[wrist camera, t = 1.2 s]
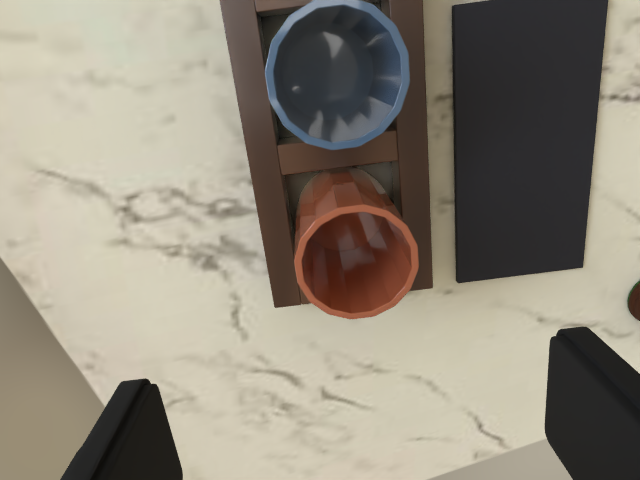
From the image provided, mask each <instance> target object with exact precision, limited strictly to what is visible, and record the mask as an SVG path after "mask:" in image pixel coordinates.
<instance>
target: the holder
mask: <svg viewBox="0 0 640 480" xmlns="http://www.w3.org/2000/svg"><path fill="white" fill-rule="evenodd" d="M311 1H313V0H220V5H221V10H222V16H223V22H224V27H225V33H226V38H227V44H228V50H229V55H230V61H231V66H232V72H233V78H234V83H235V89H236V94H237V100H238V105H239V111H240V117H241V122H242V128H243V133H244V139H245V145H246V150H247V156H248V161H249V167H250V173H251V178H252V184H253V189H254V195H255V200H256V206H257V212H258V217H259V223H260V228H261V234H262V240H263V245H264V251H265V256H266V262H267V268H268V273H269V279H270V284H271V290H272V295H273V301H274V307H275V308H278V307H286V306H294V305H301V303H302V304H309V303H311V302H310V301H309V300H308V298H307V297H306V295H305V294H304V292H303V291H302V289H301V288H300V286H299V285H298V283H297V277H296V271H295V264H294V253H295V240H294V234H293V227H292V221H291V214H290V208H289V201H288V194H287V188H286V181H285V175H289V174H296V173H304V172H312V171H320V170H328V169H336V168H343V167H351V166H359V165H367V164H375V163H382V162H390V161H391V166H392V182H393V197H394V206H395V207H396V209H397V210H398V212H399V214H400V215H401V217H402V218H403V220H404V221H405V223H406V224H407V226H408V228H409V230H410V232H411V234H412V235H413V237H414V239H415V241H416V243H417V246H418V261H419V268H418V271H417V274H416V276H415V279H414V282H413V284H412V287H411V289H410V290H409V291H413V290H421V289H430V288H433V275H432V247H431V219H430V192H429V164H428V136H427V108H426V80H425V52H424V24H423V0H362V1H365V2H368V3H372V2H380V1H381V12H382V13H384V14H385V15H386V16H387V17H388V18H389V19H390V20H391V21H392V22H393V23H395V25H396V26H397V28H398V30H399V33H400V35H401V37H402V39H403V41H404V44H405V46H406V48H407V50H408V53H409V72H410V84H409V88H408V91H407V94H406V97H405V100H404V103H403V106H402V109H401V111H400V113H399V114H398V115H397V116H396V118H395V119H394V120H393V121H392V123H391V124H390V125H389V126H388V127H387V129H386V130H385V131H384V132H383V133H382V134H381V135H379V136H377V137H375V138H374V139H372V140H370V141H368V142H367V143H365V144H363V145H361V146H358V147H354V148H347V149H339V150H329V149H325V148H321V147H318V146H314V145H310V144H307V143H305V142H303V141H302V140H301V139H300V138H298V137H297V136H296V137H288V138H280V139H279V135H278V129H277V122H276V115H275V110H274V108H273V107H272V105H271V103H270V101H269V97H268V90H267V84H266V77H265V67H266V63H267V56H266V50H265V43H264V36H263V30H262V23H261V17H266V16H273V15H281V14H288V13H294V12H295V11H297V10H298V9H300V8H302V7H303V6H305V5H306V4H308V3H310V2H311ZM260 16H261V17H260Z"/></svg>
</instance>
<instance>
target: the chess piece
mask: <svg viewBox="0 0 640 480" xmlns="http://www.w3.org/2000/svg"><path fill="white" fill-rule="evenodd" d="M628 307H629V310H630V312H631V314H632V315H633V316H634V317H635V318H636V319H638V320H639V321H640V281H639V282H638V283H637V284H636V285H635V286H634V287H633V289H632V290H631V292H630V294H629V298H628Z"/></svg>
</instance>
